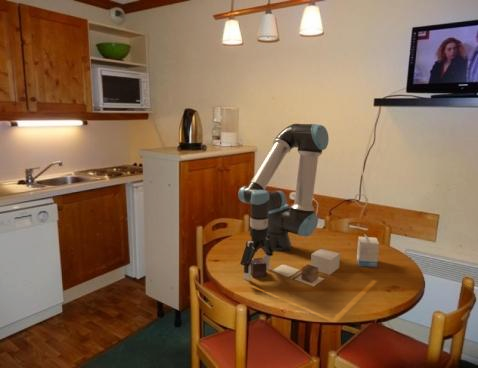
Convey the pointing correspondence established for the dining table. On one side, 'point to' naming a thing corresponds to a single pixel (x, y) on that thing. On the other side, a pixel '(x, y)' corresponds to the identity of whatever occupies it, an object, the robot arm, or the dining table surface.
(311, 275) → the block
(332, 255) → the block
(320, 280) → the board
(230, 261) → the dining table surface
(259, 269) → the box
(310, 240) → the dining table surface
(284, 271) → the pad
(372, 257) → the ink box
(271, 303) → the dining table surface
